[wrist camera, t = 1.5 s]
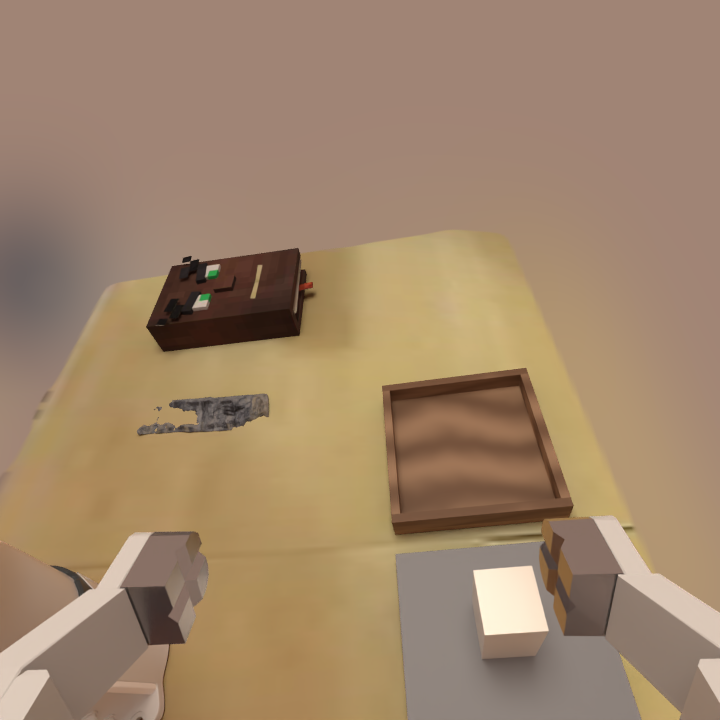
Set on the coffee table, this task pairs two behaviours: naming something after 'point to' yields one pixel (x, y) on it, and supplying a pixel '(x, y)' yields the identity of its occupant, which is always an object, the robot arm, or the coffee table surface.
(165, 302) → the decorative book
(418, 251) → the coffee table surface
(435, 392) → the box
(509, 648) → the tall cream pillar block
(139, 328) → the coffee table surface
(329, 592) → the coffee table surface
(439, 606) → the board
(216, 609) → the coffee table surface
